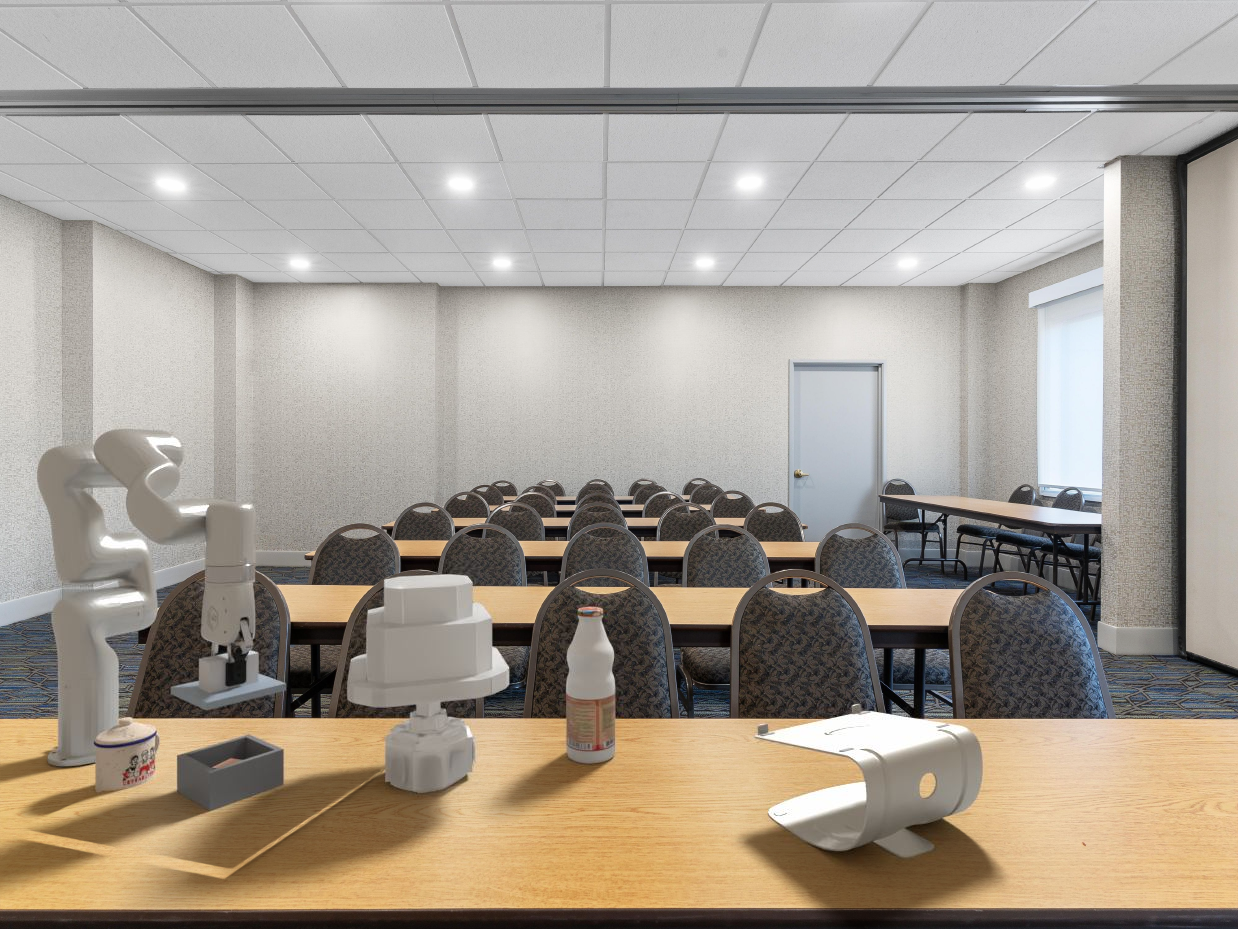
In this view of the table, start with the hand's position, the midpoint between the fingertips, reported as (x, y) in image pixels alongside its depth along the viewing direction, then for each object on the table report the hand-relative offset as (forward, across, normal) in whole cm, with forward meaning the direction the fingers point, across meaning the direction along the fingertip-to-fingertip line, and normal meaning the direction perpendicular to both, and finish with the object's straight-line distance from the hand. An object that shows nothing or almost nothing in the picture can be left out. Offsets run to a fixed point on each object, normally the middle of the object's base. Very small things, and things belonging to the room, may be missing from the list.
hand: (229, 680), depth 123 cm
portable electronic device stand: (+17, +91, +53) cm, 107 cm away
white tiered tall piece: (+19, +23, +24) cm, 38 cm away
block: (+18, +1, 0) cm, 18 cm away
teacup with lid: (+20, -18, -8) cm, 28 cm away
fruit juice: (+18, +40, +49) cm, 66 cm away
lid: (+2, 0, 0) cm, 2 cm away
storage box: (+19, +1, 0) cm, 19 cm away
